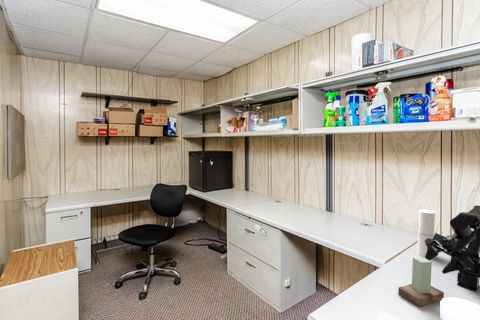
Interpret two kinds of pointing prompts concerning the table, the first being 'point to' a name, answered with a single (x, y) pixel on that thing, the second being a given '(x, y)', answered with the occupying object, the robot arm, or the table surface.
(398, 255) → the table surface
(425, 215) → the cylindrical container
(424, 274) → the block
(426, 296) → the plinth
